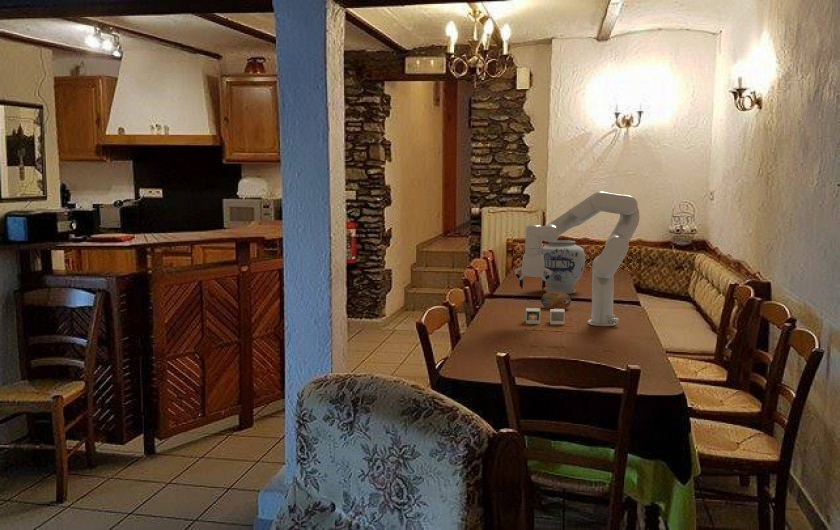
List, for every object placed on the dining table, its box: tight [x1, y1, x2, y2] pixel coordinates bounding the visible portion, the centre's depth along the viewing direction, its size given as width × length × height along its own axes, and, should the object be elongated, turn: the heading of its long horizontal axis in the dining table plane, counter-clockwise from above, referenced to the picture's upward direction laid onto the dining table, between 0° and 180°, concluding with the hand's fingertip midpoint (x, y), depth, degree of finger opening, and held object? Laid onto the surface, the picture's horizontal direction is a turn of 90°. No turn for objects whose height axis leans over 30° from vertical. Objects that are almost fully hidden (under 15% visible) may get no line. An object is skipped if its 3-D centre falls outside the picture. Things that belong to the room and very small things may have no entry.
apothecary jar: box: [542, 239, 586, 295], centre depth 429 cm, size 27×27×30 cm
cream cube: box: [549, 309, 566, 325], centre depth 340 cm, size 6×6×6 cm
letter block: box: [529, 313, 537, 320], centre depth 342 cm, size 4×4×4 cm
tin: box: [541, 292, 572, 310], centre depth 377 cm, size 15×3×8 cm, turn 62°
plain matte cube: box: [525, 307, 541, 325], centre depth 342 cm, size 6×6×6 cm
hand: (532, 288), depth 340 cm, fingers open, 9 cm apart
